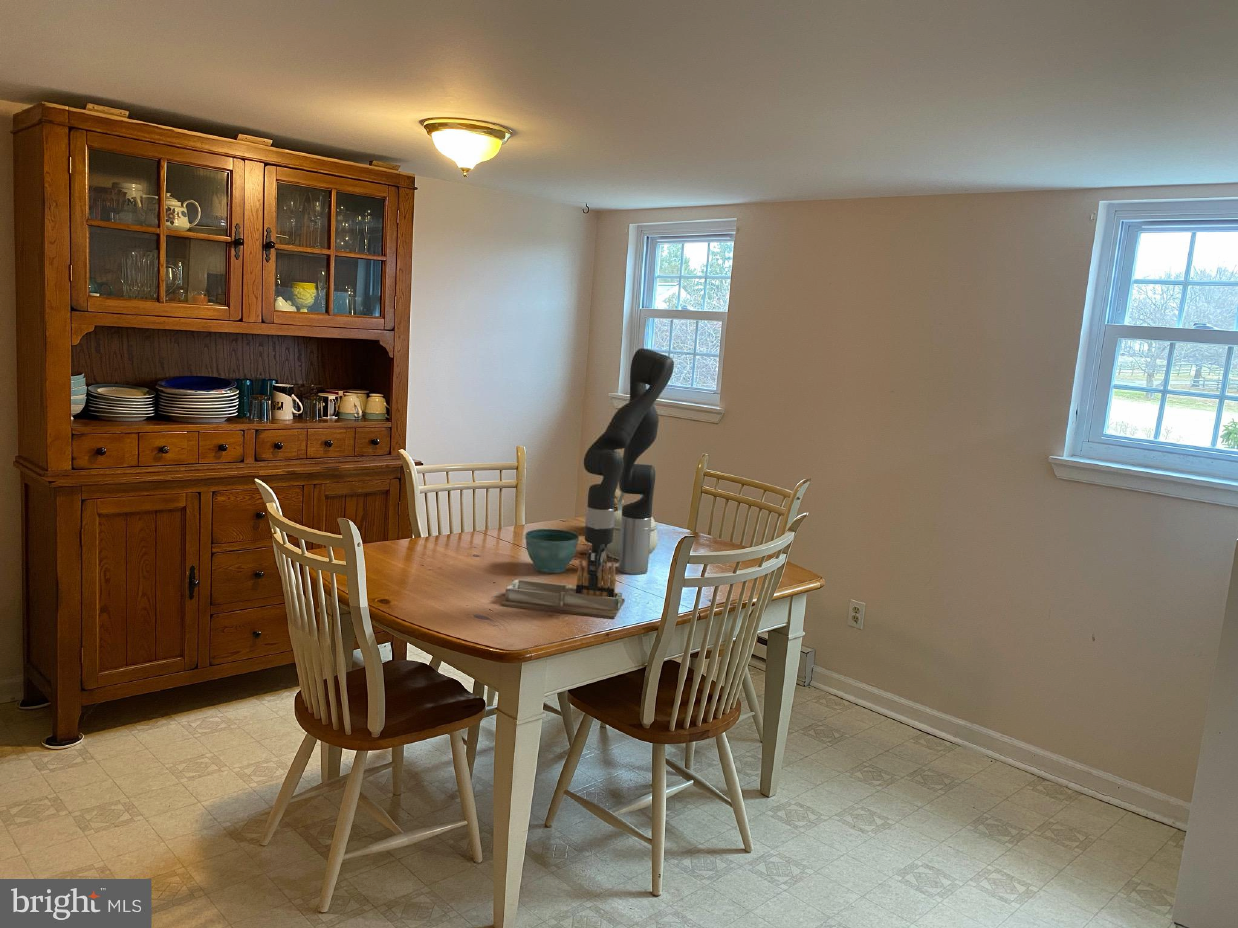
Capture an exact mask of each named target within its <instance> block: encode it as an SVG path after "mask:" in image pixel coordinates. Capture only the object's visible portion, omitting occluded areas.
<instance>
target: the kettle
mask: <svg viewBox="0 0 1238 928" xmlns="http://www.w3.org/2000/svg"><path fill="white" fill-rule="evenodd" d="M620 493H621V495H620V497H619V500H618V511H616V512H614V531H613V542H612V543H610V544H608V545H607V556H608V555H609V556H608V557H609V558H611V557H612V559H614V558H616V559H615V560H617V559H619V547H620V532H621V516H622V500H624V497H625V494H626V493H623V492H621V491H620ZM642 496H643V495H642V494H641V495H640V494H639V499H640V498H641V497H642ZM658 527H659V526H658V524H657V523H656V522H655V519H654V518H653V516H652V517H651V531H650V546H649V557H650V558H651V554H652V553H653V552H654V551H655V550H656V549H657V546H658V543H659V536H658V532H657V529H658Z"/></svg>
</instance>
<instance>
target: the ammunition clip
mask: <svg viewBox="0 0 1238 928" xmlns="http://www.w3.org/2000/svg"><path fill="white" fill-rule="evenodd" d="M584 564H585V565H584ZM584 564H583V560H582V558H580V560H579V561H578V567H577V575H576V584H575V588H576V593H577V594H586V595H595V596H601V594H602V596H604V597H612V598H615V592H616V565H615V562H612V564H611V568H610V569H609V562H608V561H606V564H605V567H604V568H603V569H604V570H603V581H602V567H601V568H599V575H598V588H597V589H596V590H594V589H589V576H590V575H589V574H587V571H588V559H586V561H585V563H584ZM583 565H584V566H583ZM583 568H584V569H583ZM592 570H595V567H592ZM609 570H610V573H609ZM582 589H583V592H582ZM608 594H609V595H608Z"/></svg>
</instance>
